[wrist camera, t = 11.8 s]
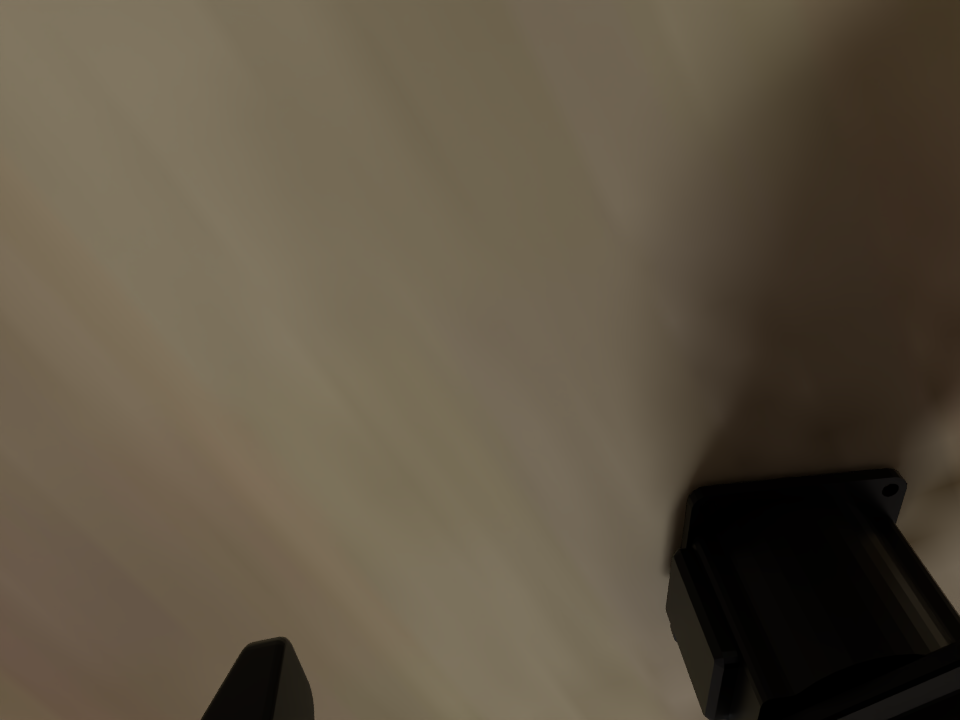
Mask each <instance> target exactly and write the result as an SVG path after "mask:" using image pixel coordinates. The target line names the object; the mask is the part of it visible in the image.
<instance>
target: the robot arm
mask: <svg viewBox="0 0 960 720" xmlns="http://www.w3.org/2000/svg"><path fill="white" fill-rule="evenodd" d="M887 485H888V486H887ZM906 489H907V483H906V481H905V480H904V478H903V477H902V476H901V474H900V473H899V472H898V471H897V470H895V469H889V468H886V469H876V470H866V471H856V472H845V473H835V474H825V475H815V476H804V477H794V478H784V479H773V480H763V481H753V482H743V483H732V484H722V485H712V486H704V487H700V488H698V489H696V490H694V491H693V492H692V493H691V494H690V495H689V497H688V500H687V507H686V514H685V521H684V529H683V536H682V543H681V549H677V551H676V552H675V554H674V555H673V557H672V563H671V571H670V579H669V586H668V594H667V602H666V612H667V615H668V618H669V621H670V623H671V624H670V627H671V631H672V634H673V637H674V640H675V641H676V642H677V643H678V646H679V648H680V651H681V654H682V657H683V660H684V662H685V665H686V668H687V671H688V673H689V676H690V679H691V682H692V684H693V687H694V690H695V693H696V696H697V698H698V701H699V704H700V707H701V709H702V712H703V715H704V716H705V717H707V718H708V719H709V720H960V615H959V614H958V613H957V611H956V610H955V608H954V607H953V605H952V604H951V603H950V601H949V600H948V598H947V597H946V595H945V594H944V593H943V591H942V590H941V588H940V587H939V585H938V584H937V583H936V581H935V580H934V578H933V577H932V575H931V574H930V573H929V571H928V570H927V568H926V567H925V565H924V564H923V563H922V561H921V560H920V558H919V557H918V555H917V554H916V553H915V551H914V550H913V548H912V547H911V545H910V544H909V543H908V541H907V540H906V538H905V537H904V536H903V534H902V533H901V531H900V530H899V528H898V527H897V526H896V521H897V518H898V515H899V511H900V508H901V505H902V502H903V499H904V495H905V492H906ZM706 502H710V503H708V504H706V505H703V504H704V503H706ZM201 720H314V704H313V697H312V692H311V688H310V684H309V682H308V680H307V677H306V675H305V673H304V671H303V668H302V666H301V664H300V662H299V659H298V657H297V655H296V653H295V650H294V648H293V646H292V644H291V642H290V641H289V640H288V639H287V638H285V637H276V638H271V639H266V640H261V641H256V642H252V643H250V644H248V645H247V646H246V647H245V648H244V649H243V650H242V652H241V653H240V655H239V657H238V658H237V660H236V662H235V663H234V665H233V667H232V668H231V670H230V672H229V673H228V675H227V677H226V678H225V680H224V682H223V683H222V685H221V687H220V688H219V690H218V692H217V693H216V695H215V697H214V698H213V700H212V702H211V703H210V705H209V707H208V708H207V710H206V712H205V713H204V715H203V717H202V718H201Z"/></svg>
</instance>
